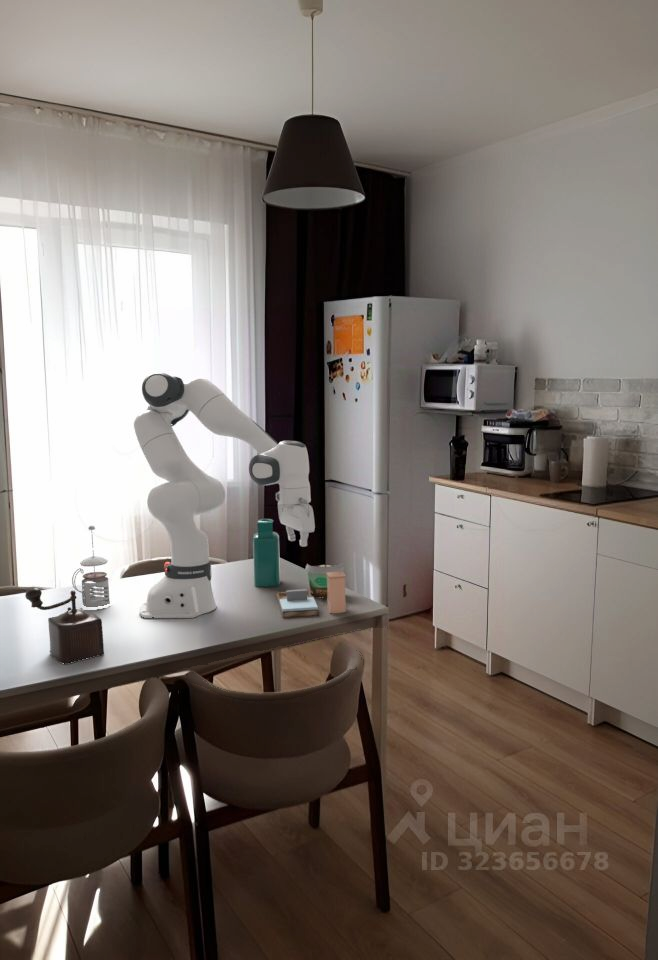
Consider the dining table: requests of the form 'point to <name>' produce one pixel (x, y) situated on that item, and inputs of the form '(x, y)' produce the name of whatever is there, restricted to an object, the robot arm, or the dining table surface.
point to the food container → (320, 578)
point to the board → (295, 613)
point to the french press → (94, 577)
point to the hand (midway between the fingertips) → (297, 543)
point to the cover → (298, 601)
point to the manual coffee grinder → (71, 630)
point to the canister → (336, 592)
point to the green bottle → (266, 555)
